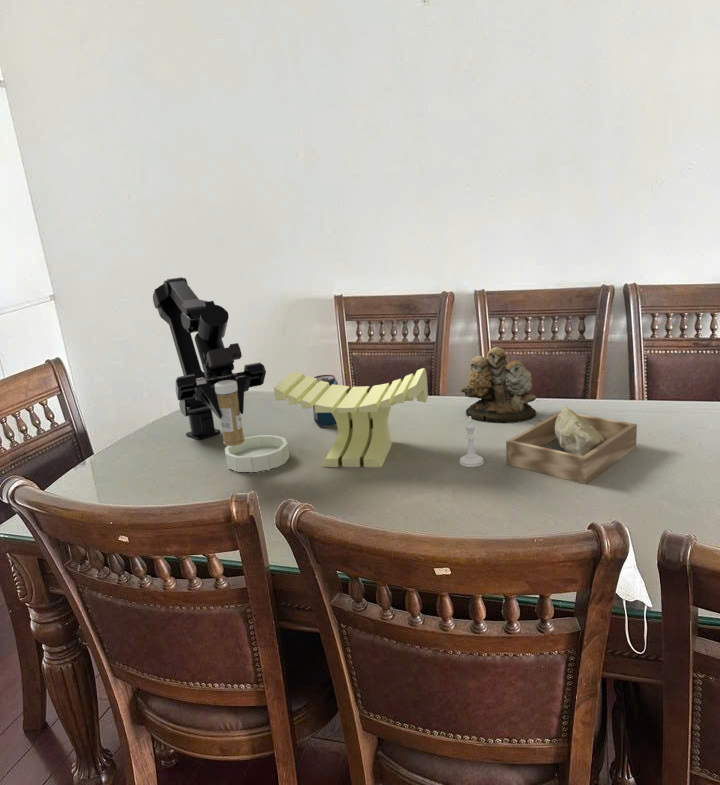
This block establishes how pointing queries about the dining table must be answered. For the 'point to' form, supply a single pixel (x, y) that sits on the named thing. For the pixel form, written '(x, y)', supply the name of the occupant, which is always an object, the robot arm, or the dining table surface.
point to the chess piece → (471, 448)
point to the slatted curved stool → (354, 413)
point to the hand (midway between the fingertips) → (231, 415)
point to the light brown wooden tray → (565, 465)
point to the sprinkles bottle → (229, 412)
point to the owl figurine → (499, 389)
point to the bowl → (257, 453)
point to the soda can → (325, 418)
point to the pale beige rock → (576, 433)
